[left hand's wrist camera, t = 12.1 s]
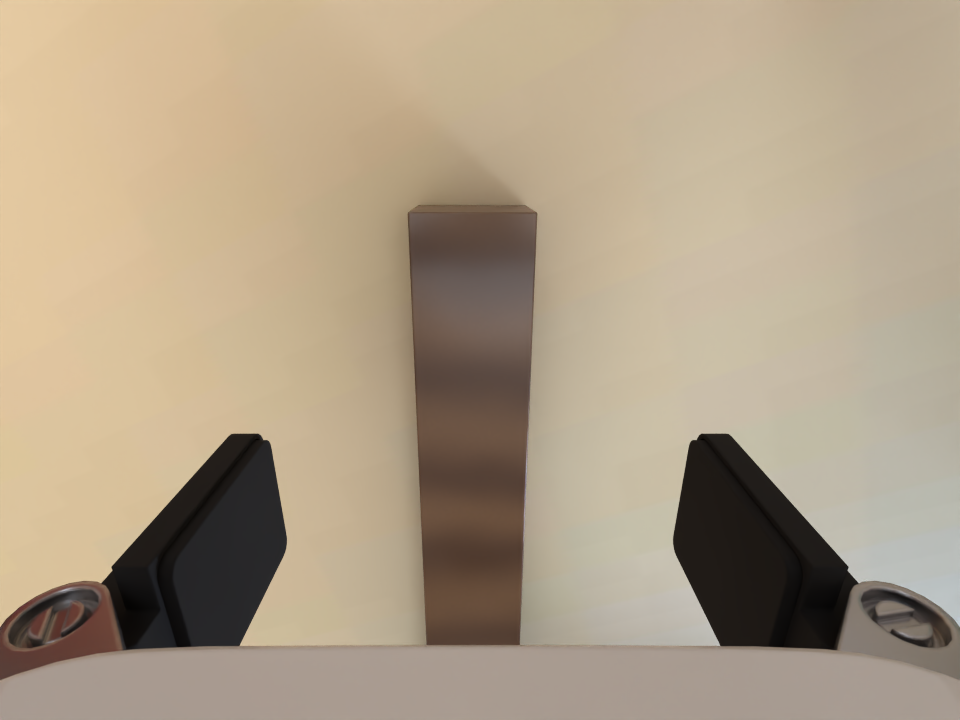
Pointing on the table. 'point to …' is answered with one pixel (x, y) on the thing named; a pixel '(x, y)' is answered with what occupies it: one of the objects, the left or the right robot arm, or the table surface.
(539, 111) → the table surface
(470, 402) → the beam
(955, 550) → the table surface
